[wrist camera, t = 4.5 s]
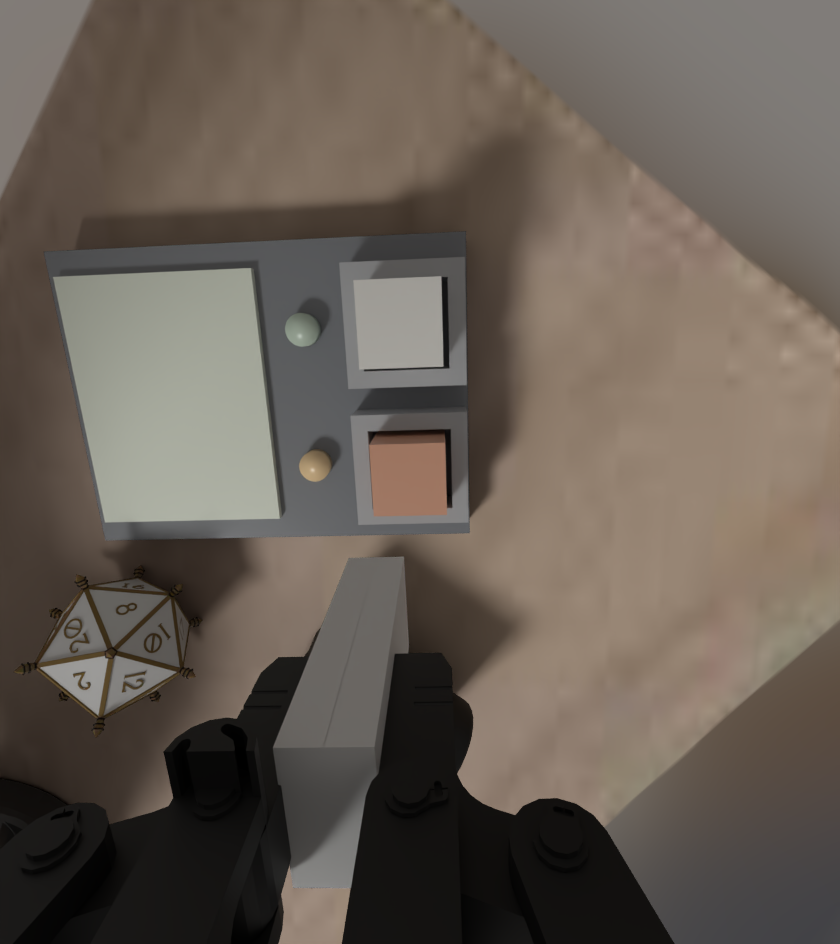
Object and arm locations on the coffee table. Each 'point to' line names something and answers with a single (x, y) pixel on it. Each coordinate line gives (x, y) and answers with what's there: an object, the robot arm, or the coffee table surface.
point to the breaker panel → (253, 384)
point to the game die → (115, 645)
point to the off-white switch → (399, 322)
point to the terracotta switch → (408, 473)
